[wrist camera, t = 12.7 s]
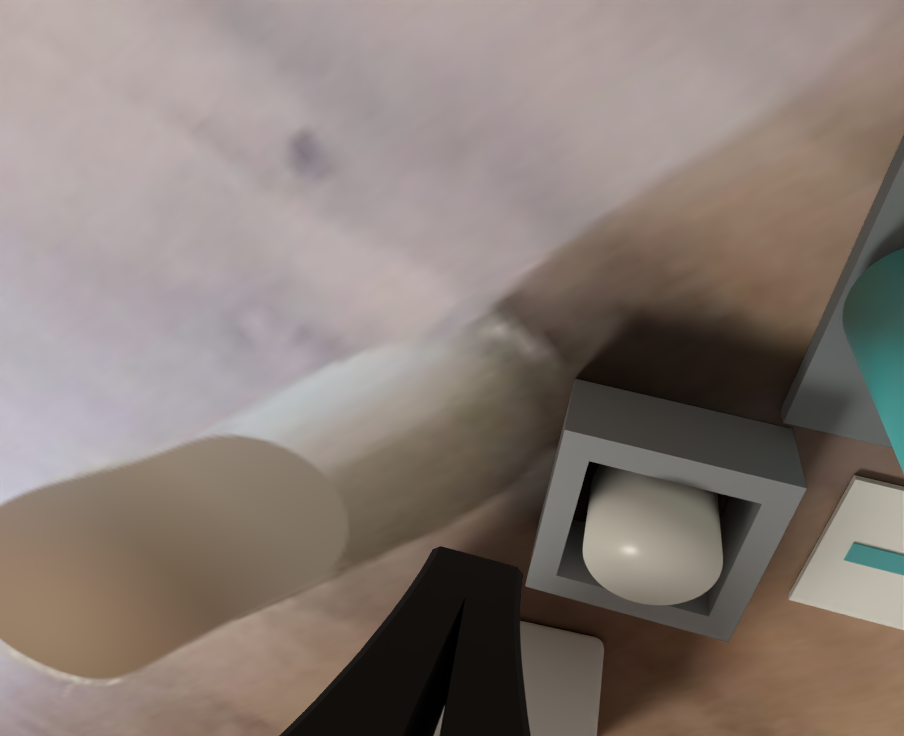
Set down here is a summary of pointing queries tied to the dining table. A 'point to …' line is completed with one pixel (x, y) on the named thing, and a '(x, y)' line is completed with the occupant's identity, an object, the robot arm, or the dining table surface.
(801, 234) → the dining table surface
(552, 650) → the medicine bottle
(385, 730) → the robot arm
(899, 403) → the marker
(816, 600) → the card
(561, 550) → the button box
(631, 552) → the button
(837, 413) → the board
